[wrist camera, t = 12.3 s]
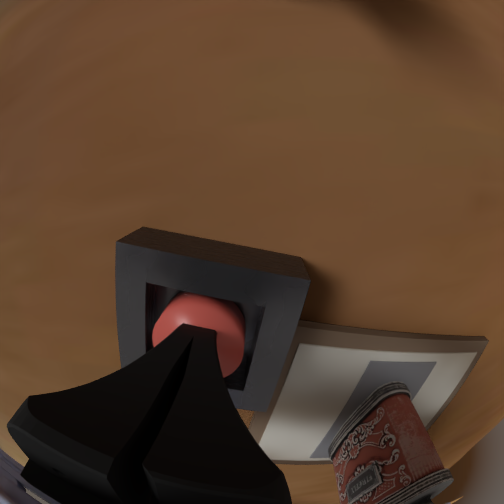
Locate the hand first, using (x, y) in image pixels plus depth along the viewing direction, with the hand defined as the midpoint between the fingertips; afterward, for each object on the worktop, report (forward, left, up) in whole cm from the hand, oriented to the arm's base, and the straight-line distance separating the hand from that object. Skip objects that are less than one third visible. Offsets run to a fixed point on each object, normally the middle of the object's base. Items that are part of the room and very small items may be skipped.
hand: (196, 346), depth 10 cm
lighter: (-6, -11, -2) cm, 13 cm away
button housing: (0, 0, -3) cm, 3 cm away
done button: (0, 0, -2) cm, 2 cm away
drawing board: (-6, -11, -3) cm, 13 cm away
